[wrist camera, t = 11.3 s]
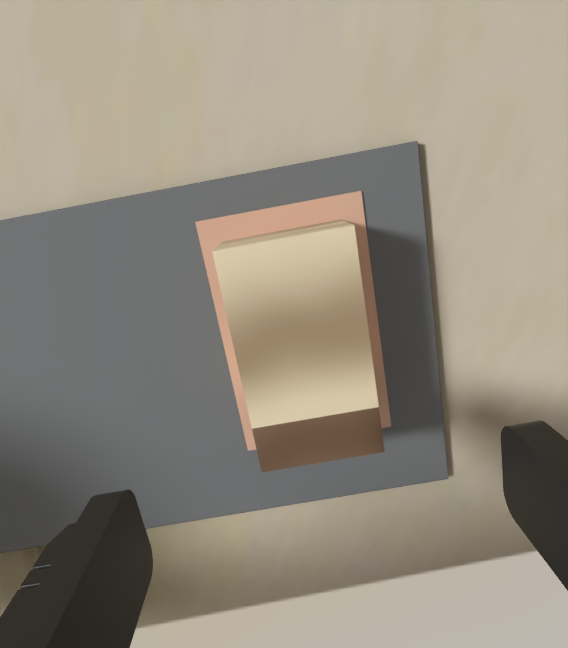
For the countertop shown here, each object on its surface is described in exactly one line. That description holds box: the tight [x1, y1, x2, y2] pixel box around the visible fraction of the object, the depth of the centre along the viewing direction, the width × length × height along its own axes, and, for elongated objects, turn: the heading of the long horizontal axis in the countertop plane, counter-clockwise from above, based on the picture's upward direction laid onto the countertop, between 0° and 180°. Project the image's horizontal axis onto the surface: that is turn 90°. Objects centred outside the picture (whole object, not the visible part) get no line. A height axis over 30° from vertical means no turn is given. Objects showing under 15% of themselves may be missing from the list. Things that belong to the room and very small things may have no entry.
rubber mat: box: [0, 141, 448, 553], centre depth 21 cm, size 24×16×1 cm, turn 100°
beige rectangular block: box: [212, 220, 385, 472], centre depth 18 cm, size 9×5×4 cm, turn 10°
